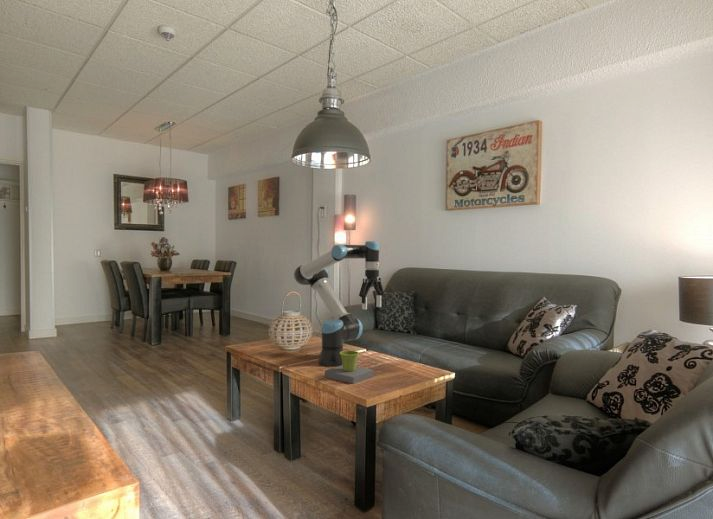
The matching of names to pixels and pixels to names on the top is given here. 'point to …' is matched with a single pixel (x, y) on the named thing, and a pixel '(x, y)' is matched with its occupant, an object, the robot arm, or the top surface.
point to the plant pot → (349, 360)
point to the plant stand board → (349, 374)
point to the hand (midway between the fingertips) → (371, 308)
